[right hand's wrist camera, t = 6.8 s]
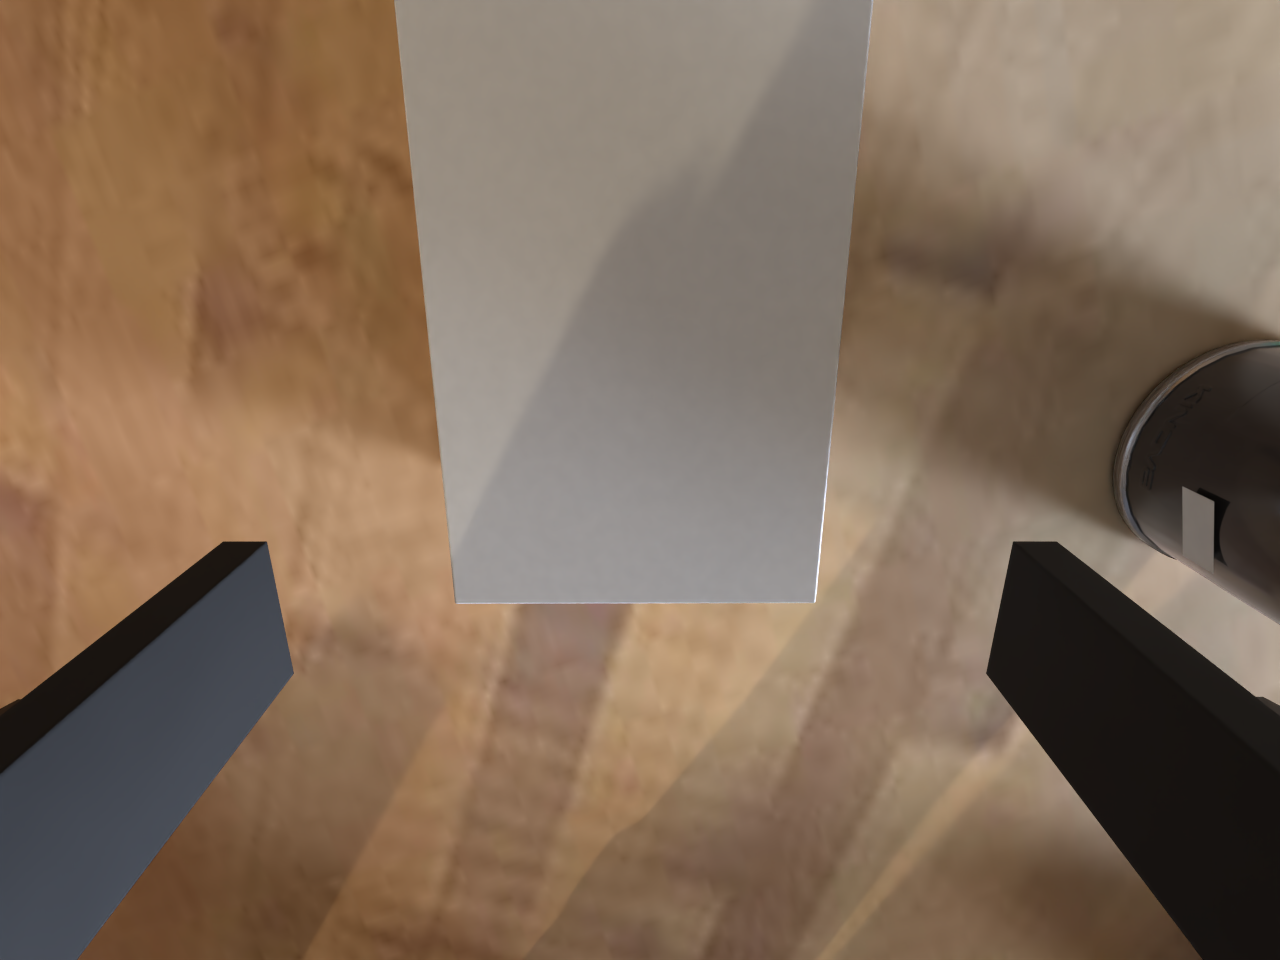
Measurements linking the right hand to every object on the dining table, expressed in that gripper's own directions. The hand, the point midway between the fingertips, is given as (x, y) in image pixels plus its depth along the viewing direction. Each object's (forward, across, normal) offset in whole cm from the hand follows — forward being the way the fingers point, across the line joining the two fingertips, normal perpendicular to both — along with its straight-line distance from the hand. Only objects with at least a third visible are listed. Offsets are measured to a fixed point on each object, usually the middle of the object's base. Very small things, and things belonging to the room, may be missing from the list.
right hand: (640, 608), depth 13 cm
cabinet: (+17, 0, -5) cm, 17 cm away
